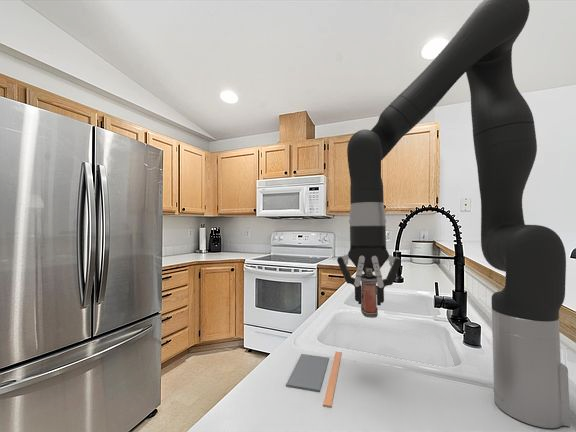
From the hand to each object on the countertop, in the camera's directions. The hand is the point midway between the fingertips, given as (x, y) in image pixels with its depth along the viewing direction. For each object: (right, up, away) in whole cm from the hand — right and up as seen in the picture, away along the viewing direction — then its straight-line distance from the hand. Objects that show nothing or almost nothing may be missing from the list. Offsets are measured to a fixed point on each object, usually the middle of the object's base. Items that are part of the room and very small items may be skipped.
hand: (369, 303), depth 59 cm
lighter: (0, -2, 0) cm, 2 cm away
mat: (-13, -16, +3) cm, 21 cm away
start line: (-7, -16, +1) cm, 18 cm away
